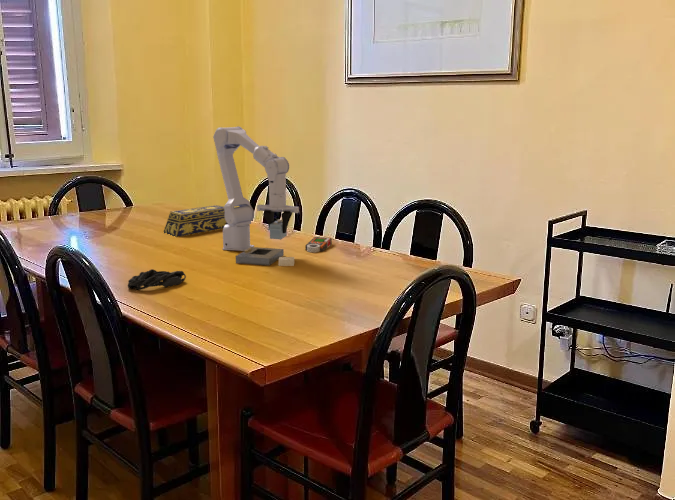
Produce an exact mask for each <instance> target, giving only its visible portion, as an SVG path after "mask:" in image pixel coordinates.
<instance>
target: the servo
mask: <svg viewBox="0 0 675 500" xmlns="http://www.w3.org/2000/svg"><path fill="white" fill-rule="evenodd" d="M282 225H283V224H282V219H276V220H274V222H273V223H271V224H270V228H269V227H268V228H267V230H268V231H269V239H270V240H283V239H284V238H285V237H287V233H288V231H286V233H283V230H282Z"/></svg>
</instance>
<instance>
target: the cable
mask: <svg viewBox="0 0 675 500" xmlns="http://www.w3.org/2000/svg"><path fill="white" fill-rule="evenodd" d="M183 277H184V278H183ZM186 279H187V275H186V273H185V272H184V271H183V270H175V271H171V272H170V271H164V270H160V271H157V270H156V269H149V270H147V271H141V272H140V273H139V274H138V275H133V276H132V277H131V278H130V279H129V280H128V283H127V288H129V289H132V288H131V287H133V289H134V288H135V289H134V290H136V289H138V290H137V291H140V290H144V289H147V288H151V287H161V286H162V287H164V288H168V287H167V286H170V287H174V286H173V285H175V286H179V285H180V284H181V283H182V282H185V280H186Z"/></svg>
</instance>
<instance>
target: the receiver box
mask: <svg viewBox="0 0 675 500" xmlns="http://www.w3.org/2000/svg"><path fill="white" fill-rule="evenodd" d="M278 266H279V267H294V266H295V256H283V257H279V259H278Z"/></svg>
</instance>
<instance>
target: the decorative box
mask: <svg viewBox="0 0 675 500" xmlns="http://www.w3.org/2000/svg"><path fill="white" fill-rule="evenodd" d="M224 206H225V205H224ZM224 206H223V205H217V204H214V205H209V206H201V207H200V206H199V207H194V208H186V209H179V210H173V211H169V214H168V217H167V220H166V223H165V225H164V226H165V227H164V229H163V232H164V233H163V234H165V233H167V234H166V235H168V234H170V235H169V236H171V235H172V236H171V237H174V236H175V238H178V236H180V237H185V235H186V236H191V235H190V234H192V235H196V234H195V233H198V234H201V233H200V232H204V233H207V232H206V231H209V232H213V231H212V230H215V231H218V230H217V229H221V230H223V228H224V226H225V225H226V224H228V223H227V222H226V220H225V210H224Z"/></svg>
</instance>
